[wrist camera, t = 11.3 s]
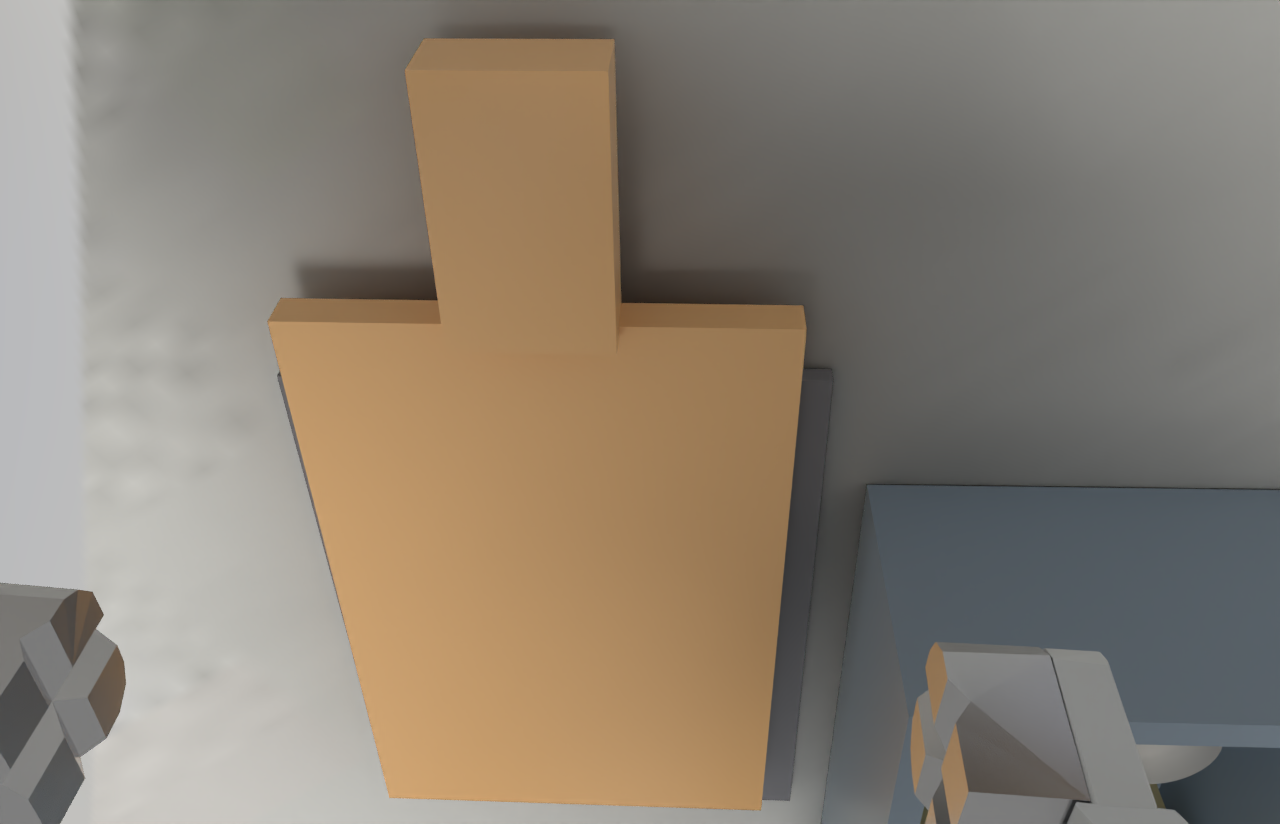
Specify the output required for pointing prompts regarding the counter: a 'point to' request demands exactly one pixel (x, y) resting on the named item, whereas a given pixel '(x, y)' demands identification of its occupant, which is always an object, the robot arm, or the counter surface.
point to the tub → (1073, 629)
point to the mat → (794, 578)
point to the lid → (548, 469)
